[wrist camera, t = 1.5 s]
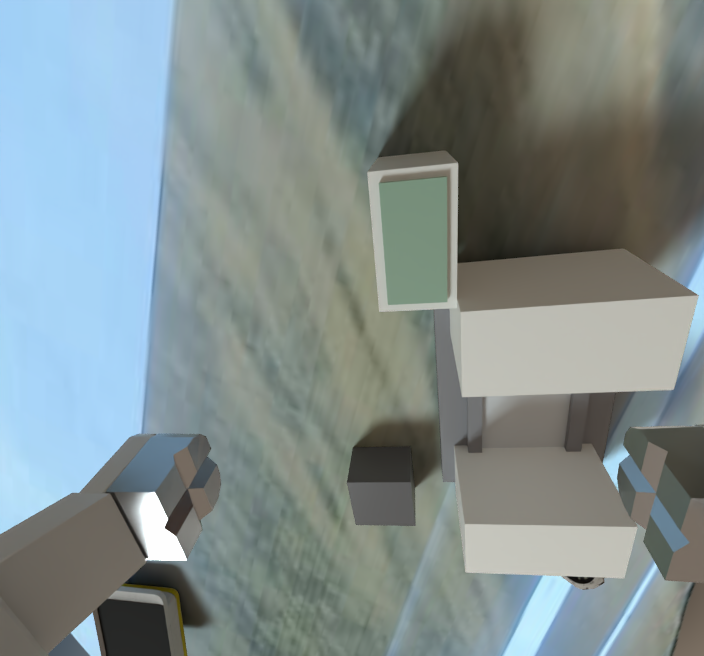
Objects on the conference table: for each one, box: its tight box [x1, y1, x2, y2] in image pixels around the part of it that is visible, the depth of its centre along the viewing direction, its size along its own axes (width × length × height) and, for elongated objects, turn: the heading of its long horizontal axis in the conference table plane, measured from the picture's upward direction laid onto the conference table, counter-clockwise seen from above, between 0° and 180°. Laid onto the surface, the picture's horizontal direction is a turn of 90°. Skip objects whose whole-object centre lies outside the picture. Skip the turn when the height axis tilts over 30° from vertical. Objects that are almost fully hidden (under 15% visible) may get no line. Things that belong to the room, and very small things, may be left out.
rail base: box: [433, 248, 699, 578], centre depth 27 cm, size 20×12×8 cm, turn 8°
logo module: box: [367, 150, 458, 312], centre depth 23 cm, size 7×4×7 cm, turn 6°
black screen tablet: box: [93, 583, 187, 656], centre depth 51 cm, size 9×4×15 cm
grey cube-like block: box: [347, 446, 415, 526], centre depth 35 cm, size 5×5×4 cm
